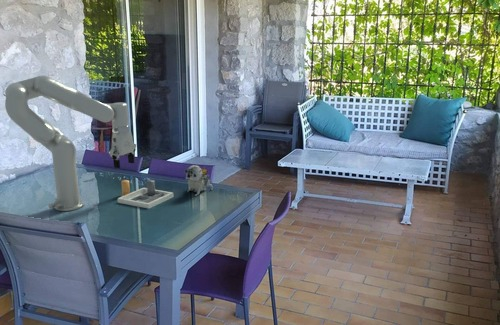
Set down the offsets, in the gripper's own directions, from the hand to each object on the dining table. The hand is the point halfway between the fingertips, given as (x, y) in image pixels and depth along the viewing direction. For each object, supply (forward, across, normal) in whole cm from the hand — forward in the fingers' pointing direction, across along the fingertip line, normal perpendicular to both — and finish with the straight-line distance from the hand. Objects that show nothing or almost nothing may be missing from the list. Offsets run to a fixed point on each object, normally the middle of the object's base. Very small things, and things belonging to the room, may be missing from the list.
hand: (124, 165), depth 230 cm
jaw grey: (+15, +2, -13) cm, 20 cm away
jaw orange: (+16, 0, 0) cm, 16 cm away
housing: (+16, -1, -13) cm, 20 cm away
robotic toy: (+16, +20, -28) cm, 38 cm away
